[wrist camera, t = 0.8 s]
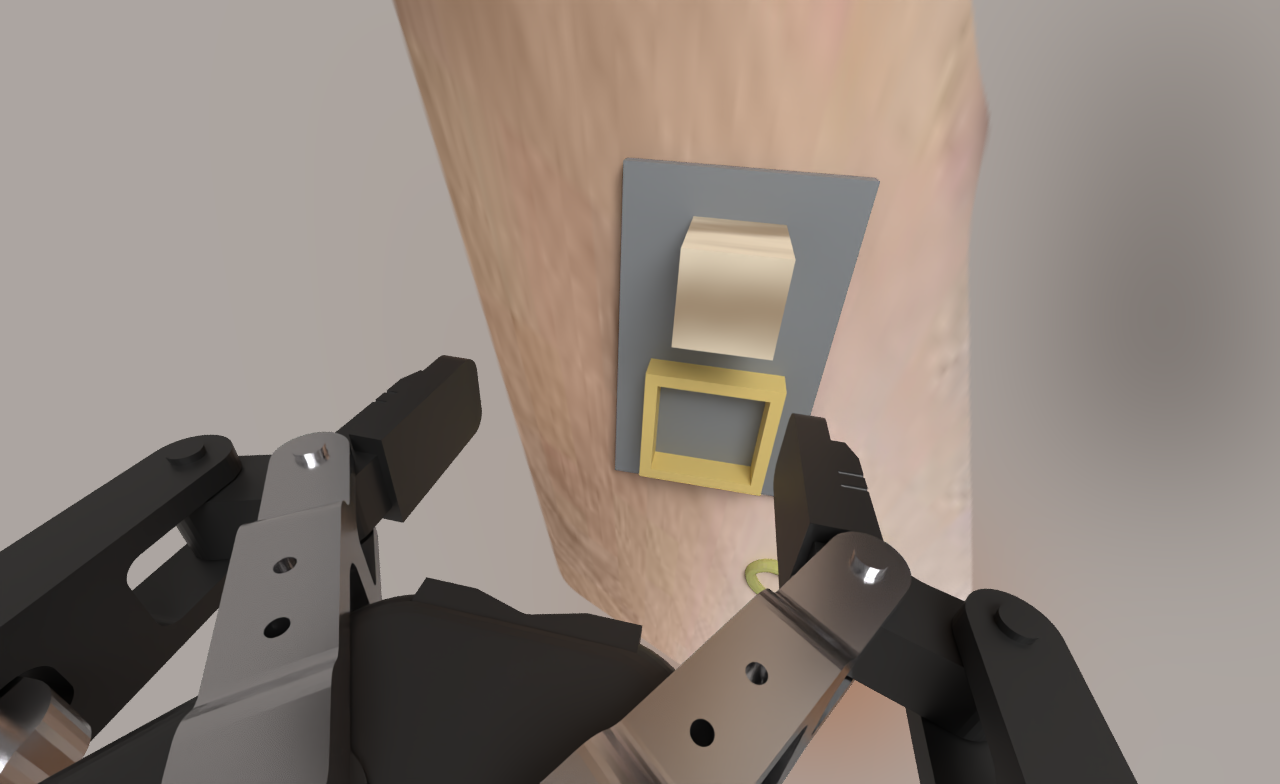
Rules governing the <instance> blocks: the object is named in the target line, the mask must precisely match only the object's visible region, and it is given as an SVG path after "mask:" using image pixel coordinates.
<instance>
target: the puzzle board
mask: <svg viewBox="0 0 1280 784" xmlns="http://www.w3.org/2000/svg"><path fill="white" fill-rule="evenodd" d="M879 183H880V181H879V180H878V179H876V178H870V177H858V176H846V175H834V174H822V173H809V172H797V171H785V170H773V169H760V168H748V167H736V166H724V165H712V164H699V163H687V162H675V161H663V160H650V159H638V158H626V159H625V160H624V162H623V199H622V236H621V273H620V310H619V347H618V384H617V421H616V458H615V470H619V471H625V472H631V473H637V474H639V476H644V477H650V478H656V479H662V480H668V481H674V482H680V483H686V484H692V485H698V486H704V487H710V488H716V489H722V490H728V491H734V492H740V493H746V494H751V495H757V496H760V495H761V494H763V495H769V496H774V492H773V481H774V473H775V467H776V463H777V459H778V456H779V452H780V449H781V445H782V442H783V438H784V435H785V431H786V428H787V425H788V421H789V418H790V416H791V414H792V413H797V414H803V415H809V416H810V415H811V411H812V408H813V405H814V401H815V398H816V395H817V391H818V388H819V385H820V381H821V378H822V374H823V371H824V368H825V364H826V361H827V358H828V354H829V351H830V348H831V344H832V341H833V338H834V334H835V331H836V328H837V324H838V321H839V317H840V314H841V311H842V307H843V304H844V301H845V297H846V294H847V291H848V287H849V284H850V281H851V277H852V274H853V271H854V267H855V264H856V260H857V257H858V254H859V250H860V247H861V244H862V240H863V237H864V234H865V230H866V227H867V224H868V220H869V217H870V214H871V210H872V207H873V203H874V200H875V197H876V193H877V190H878V187H879ZM693 216H697V217H708V218H718V219H728V220H739V221H749V222H760V223H770V224H781V225H787V228H788V232H789V236H790V240H791V244H792V248H793V252H794V256H795V260H796V261H795V265H794V269H793V274H792V278H791V282H790V287H789V291H788V296H787V300H786V304H785V309H784V313H783V318H782V322H781V326H780V331H779V335H778V339H777V344H776V348H775V353H774V357H773V361H772V360H765V359H757V358H750V357H742V356H734V355H727V354H719V353H712V352H704V351H696V350H689V349H681V348H674V347H672V337H673V326H674V316H675V305H676V294H677V284H678V273H679V263H680V252H681V247H682V244H683V242H684V239H685V237H686V234H687V232H688V229H689V227H690V224H691V221H692V219H693Z"/></svg>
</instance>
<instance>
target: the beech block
mask: <svg viewBox="0 0 1280 784" xmlns="http://www.w3.org/2000/svg"><path fill="white" fill-rule="evenodd" d="M795 261H796V260H795V256H794V252H793V248H792V244H791V240H790V236H789V232H788V228H787V225H781V224H770V223H760V222H749V221H739V220H728V219H718V218H708V217H697V216H693V219H692V221H691V224H690V227H689V229H688V232H687V234H686V237H685V239H684V242H683V244H682V247H681V252H680V263H679V273H678V284H677V294H676V305H675V316H674V326H673V337H672V347H674V348H681V349H689V350H696V351H704V352H712V353H719V354H727V355H734V356H742V357H750V358H757V359H765V360H772V361H773V357H774V353H775V348H776V344H777V339H778V335H779V331H780V326H781V322H782V318H783V313H784V309H785V304H786V300H787V296H788V291H789V287H790V282H791V278H792V274H793V269H794V265H795Z"/></svg>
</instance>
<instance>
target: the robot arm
mask: <svg viewBox="0 0 1280 784" xmlns="http://www.w3.org/2000/svg"><path fill="white" fill-rule="evenodd" d="M481 416H482V408H481V400H480V393H479V384H478V376H477V368H476V365H475V362H474V361H473V360H471V359H465V358H459V357H452V356H446V355H443V356H440V357H439V358H438V359H436V360H435V361H434V362H433V363H432V364H431V365H429V367H427V368H426V369H425V370H423V371H421V370H420V371H418V372H416V373H413V374H411V375H409V376H407V377H404V378H402V379H400V380H399V381H398V382H397V383H395V384H394V385H393V386H392V387H391V388H389V389H388V390H387V393H383V394H382V395H381V396H380V397H378V398H377V399H376V402H372V403H371V404H370V405H369V406H367V407H366V408H365V409H364V410H363V411H361V412H360V413H359V414H357V415H356V416H355V417H354V418H353V419H351V420H350V421H349V422H348V423H346V425H344V426H343V427H341V428H340V429H339V430H338V431H337V432H335V433H333V432H317V433H311V434H306V435H303V436H300V437H297V438H295V439H292V440H290V441H288V442H286V443H285V444H284V445H282V446H280V447H279V448H278V449H277V450H276V451H275V452H274V453H273V454H272V455H254V456H253V455H252V456H238V455H237V453H236V450H235V448H234V446H233V444H232V442H231V441H230V440H229V439H228V438H226V437H224V436H219V435H202V436H195V437H190V438H186V439H182V440H179V441H176V442H174V443H171V444H169V445H167V446H165V447H163V448H161V449H159V450H157V451H156V452H154V453H153V454H151V455H150V456H148V457H146V458H145V459H143V460H142V461H140V462H139V463H137V464H135V465H134V466H132V467H131V468H129V469H128V470H126V471H125V472H123V473H122V474H120V475H118V476H117V477H115V478H114V479H112V480H111V481H109V482H108V483H106V484H105V485H103V486H101V487H100V488H98V489H97V490H95V491H94V492H92V493H91V494H89V495H87V496H86V497H84V498H83V499H81V500H80V501H78V502H77V503H75V504H74V505H72V506H70V507H69V508H67V509H66V510H64V511H63V512H61V513H60V514H58V515H57V516H55V517H53V518H52V519H50V520H49V521H47V522H46V523H44V524H43V525H41V526H39V527H38V528H36V529H35V530H33V531H32V532H30V533H29V534H27V535H25V536H24V537H22V538H21V539H19V540H18V541H16V542H15V543H13V544H12V545H10V546H9V547H7V548H5V549H4V550H2V551H1V552H0V784H782V783H783V781H784V780H785V779H786V777H787V775H788V774H789V773H790V771H791V769H792V768H793V767H794V765H795V763H796V762H797V760H798V759H799V757H800V756H801V754H802V753H803V751H804V749H805V748H806V747H807V745H808V744H809V743H810V741H811V740H812V738H813V737H814V736H815V734H816V733H817V731H818V730H819V729H820V727H821V726H822V725H823V723H824V722H825V721H826V719H827V718H828V716H829V715H830V714H831V712H832V711H833V709H834V708H835V707H836V705H837V704H838V703H839V701H840V700H841V699H842V697H843V696H844V694H845V693H846V692H847V690H848V689H849V688H850V686H851V685H852V683H853V682H854V681H855V680H856V681H858V682H860V683H862V684H864V685H865V686H867V687H869V688H871V689H873V690H874V691H876V692H878V693H880V694H882V695H884V696H885V697H887V698H889V699H891V700H893V701H895V702H897V703H898V704H900V705H902V706H904V707H905V708H906V713H907V718H908V723H909V728H910V733H911V739H912V744H913V749H914V754H915V759H916V764H917V769H918V774H919V779H920V784H1138V783H1137V781H1136V779H1135V778H1134V775H1133V773H1132V771H1131V770H1130V768H1129V766H1128V764H1127V762H1126V760H1125V758H1124V756H1123V754H1122V752H1121V750H1120V748H1119V746H1118V744H1117V742H1116V740H1115V738H1114V736H1113V735H1112V732H1111V731H1110V729H1109V727H1108V725H1107V723H1106V721H1105V719H1104V717H1103V715H1102V713H1101V711H1100V709H1099V707H1098V705H1097V703H1096V701H1095V700H1094V697H1093V695H1092V694H1091V692H1090V690H1089V688H1088V686H1087V684H1086V682H1085V680H1084V678H1083V676H1082V674H1081V672H1080V670H1079V668H1078V666H1077V664H1076V662H1075V660H1074V658H1073V656H1072V655H1071V653H1070V651H1069V649H1068V647H1067V645H1066V643H1065V641H1064V639H1063V637H1062V636H1061V634H1060V633H1059V631H1058V630H1057V629H1056V627H1055V626H1054V625H1053V624H1052V623H1051V622H1050V621H1049V620H1048V618H1047V617H1045V616H1044V615H1043V614H1042V613H1041V612H1040V611H1038V610H1037V609H1036V608H1034V607H1033V606H1031V605H1030V604H1028V603H1027V602H1025V601H1024V600H1022V599H1020V598H1018V597H1016V596H1013V595H1011V594H1009V593H1006V592H1003V591H999V590H994V589H980V590H976V591H973V592H972V593H971V594H969V596H968V597H967V599H966V600H965V601H963V600H960V599H958V598H956V597H954V596H951V595H949V594H947V593H945V592H942V591H940V590H938V589H936V588H933V587H931V586H929V585H927V584H925V583H923V582H921V581H919V580H918V579H916V578H914V577H913V576H911V572H910V569H909V567H908V565H907V563H906V561H905V560H904V558H903V557H902V556H901V555H900V554H899V553H898V552H897V551H896V550H895V549H894V548H893V547H892V546H890V545H889V544H887V543H886V542H884V541H883V538H882V535H881V531H880V528H879V525H878V521H877V518H876V515H875V511H874V508H873V505H872V501H871V498H870V495H869V492H867V489H868V488H867V485H866V481H865V478H863V471H862V468H861V465H860V461H859V458H858V457H857V456H856V455H855V454H854V452H853V451H852V450H851V449H850V448H849V447H848V446H847V444H846V443H844V442H838V441H832V440H831V439H830V435H829V431H828V427H827V422H826V419H825V418H821V417H815V416H809V415H803V414H797V413H792V414H791V416H790V418H789V421H788V425H787V428H786V431H785V435H784V438H783V442H782V445H781V449H780V452H779V456H778V459H777V463H776V467H775V473H774V481H773V492H774V509H775V526H776V542H777V559H778V576H779V590H778V591H777V592H775V593H774V592H772V591H771V590H770V589H764V590H763V591H761V592H760V593H758V594H757V595H756V596H755V597H754V598H753V599H752V600H751V601H749V602H748V603H747V604H746V605H745V606H744V607H743V608H742V609H741V610H740V611H739V612H738V613H737V614H735V615H734V616H733V617H732V618H731V619H730V620H729V621H728V622H727V623H726V624H725V625H724V626H723V627H721V628H720V629H719V630H718V631H717V632H716V633H715V634H714V635H713V636H712V637H711V638H710V639H709V640H707V641H706V642H705V643H704V644H703V645H702V646H701V647H700V648H699V649H698V650H697V651H696V652H694V653H693V654H692V655H691V656H690V657H689V658H688V659H687V660H686V661H685V662H684V663H683V664H682V665H680V666H679V667H678V668H677V669H676V670H675V669H674V668H673V667H672V666H671V665H670V664H669V663H668V662H666V661H665V660H664V659H663V658H662V657H660V656H659V655H657V654H656V653H655V652H653V651H652V650H650V649H648V648H646V647H645V646H643V645H641V644H640V640H641V632H642V626H641V625H637V624H632V623H628V622H623V621H619V620H615V619H610V618H606V617H601V616H597V615H592V614H588V613H581V614H580V613H579V614H535V615H531V614H524V613H522V612H519V611H517V610H516V609H514V608H512V607H510V606H508V605H506V604H505V603H503V602H501V601H499V600H497V599H495V598H493V597H492V596H490V595H488V594H486V593H484V592H482V591H480V590H479V589H476V588H472V587H467V586H463V585H458V584H454V583H449V582H445V581H440V580H436V579H431V578H426V579H425V580H424V582H423V584H422V585H421V586H420V588H419V589H418V591H417V592H416V594H414V595H404V596H397V597H393V598H389V599H385V600H382V596H381V582H380V565H379V549H378V535H377V531H376V528H375V526H376V525H377V524H378V523H379V521H380V520H381V519H382V518H384V519H388V520H393V521H398V522H404V521H405V520H406V519H407V517H408V516H409V515H410V514H411V512H412V511H413V510H414V509H415V507H416V506H417V505H418V504H419V503H420V501H421V500H422V499H423V498H424V496H425V495H426V494H427V493H428V491H429V490H430V489H431V488H432V486H433V485H434V484H435V483H436V481H437V480H438V479H439V478H440V476H441V475H442V474H443V473H444V471H445V470H446V469H447V468H448V467H449V465H450V464H451V463H452V461H453V460H454V459H455V458H456V457H457V456H458V454H459V453H460V452H461V451H462V449H463V448H464V447H465V446H466V444H467V443H468V442H469V441H470V439H471V438H472V437H473V436H474V434H475V433H476V432H477V430H478V428H479V425H480V421H481ZM175 526H177V528H178V529H179V531H180V533H181V534H182V536H183V538H184V539H185V540H186V542H187V544H186V545H185V546H184V547H183V548H181V549H180V550H179V551H178V552H177V553H176V554H174V555H173V556H172V557H171V558H170V559H169V560H167V561H166V562H165V563H164V564H163V565H162V566H160V567H159V568H158V569H157V570H156V571H155V572H153V573H152V574H151V575H150V576H149V577H148V578H146V579H145V580H144V581H143V582H142V583H141V584H139V585H138V586H137V587H136V588H135V589H134V590H131V589H130V588H129V586H128V584H127V573H128V570H129V568H130V566H131V564H132V563H133V561H134V560H135V559H136V558H137V557H138V556H139V555H140V554H141V553H143V552H144V551H145V550H146V549H148V548H149V547H150V546H151V545H153V544H154V543H155V542H156V541H158V540H159V539H160V538H161V537H163V536H164V535H165V534H166V533H167V532H168V531H170V530H171V529H172V528H174V527H175ZM218 608H219V610H218V614H217V619H216V623H215V627H214V631H213V636H212V640H211V644H210V648H209V653H208V657H207V661H206V665H205V669H204V674H203V678H202V682H201V686H200V690H199V695H198V696H196V697H195V698H193V699H191V700H189V701H187V702H185V703H184V704H182V705H180V706H178V707H176V708H174V709H172V710H171V711H169V712H167V713H165V714H163V715H161V716H160V717H158V718H156V719H154V720H152V721H151V722H149V723H147V724H145V725H143V726H141V727H139V728H138V729H136V730H134V731H132V732H130V733H129V734H127V735H125V736H123V737H121V738H119V739H118V740H116V741H114V742H112V743H110V744H108V745H106V746H105V747H103V748H101V749H100V750H97V751H95V752H94V753H92V754H90V755H88V756H86V757H85V758H83V756H84V755H85V753H86V751H87V749H88V746H89V743H90V741H92V739H93V738H94V737H95V736H96V735H97V734H98V733H99V732H100V731H101V730H102V729H103V728H104V727H105V726H106V725H107V724H108V723H109V722H110V721H111V719H112V718H114V717H115V715H116V714H117V713H118V712H119V711H120V710H121V709H122V708H123V707H124V706H125V705H126V704H127V703H128V702H129V701H130V700H131V699H132V698H133V697H134V696H135V695H136V694H137V692H138V691H139V690H140V689H141V688H142V687H143V686H144V685H145V684H146V683H147V682H148V681H149V680H150V679H151V678H152V677H153V676H154V675H155V674H156V673H157V672H158V670H160V668H161V667H162V666H163V665H164V664H165V663H166V662H167V661H168V660H169V659H170V658H171V657H172V656H173V655H174V654H175V653H176V652H177V651H178V650H179V649H180V648H181V646H183V645H184V644H185V642H186V641H187V640H188V639H189V638H190V637H191V636H192V635H193V634H194V633H195V632H196V631H197V630H198V629H199V628H200V627H201V626H202V625H203V624H204V623H205V622H206V621H207V620H208V618H209V617H210V616H211V615H212V614H213V613H214V612H215V611H216V610H217V609H218ZM82 758H83V759H82Z"/></svg>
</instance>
